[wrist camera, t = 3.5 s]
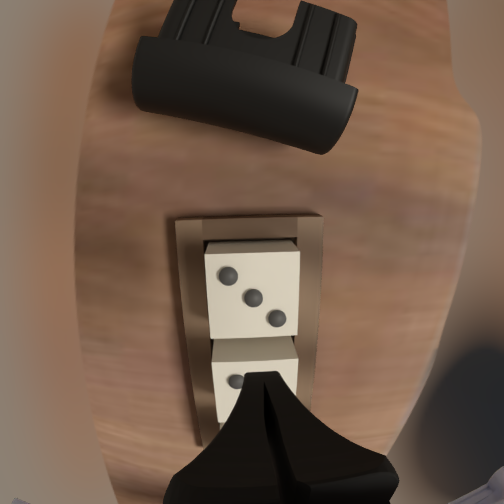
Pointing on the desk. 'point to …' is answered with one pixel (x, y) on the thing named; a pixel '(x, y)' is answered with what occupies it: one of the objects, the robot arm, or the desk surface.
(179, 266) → the tile tray
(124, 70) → the desk surface
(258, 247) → the tile three
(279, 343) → the tile two
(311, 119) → the end cap
